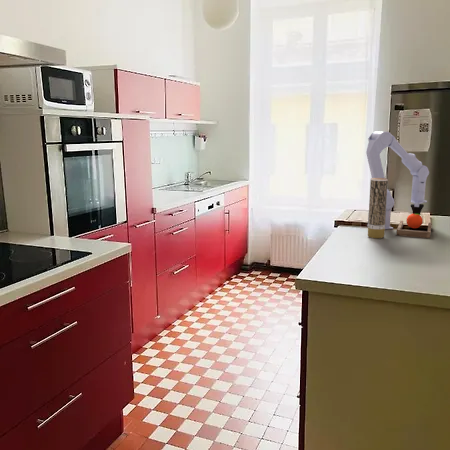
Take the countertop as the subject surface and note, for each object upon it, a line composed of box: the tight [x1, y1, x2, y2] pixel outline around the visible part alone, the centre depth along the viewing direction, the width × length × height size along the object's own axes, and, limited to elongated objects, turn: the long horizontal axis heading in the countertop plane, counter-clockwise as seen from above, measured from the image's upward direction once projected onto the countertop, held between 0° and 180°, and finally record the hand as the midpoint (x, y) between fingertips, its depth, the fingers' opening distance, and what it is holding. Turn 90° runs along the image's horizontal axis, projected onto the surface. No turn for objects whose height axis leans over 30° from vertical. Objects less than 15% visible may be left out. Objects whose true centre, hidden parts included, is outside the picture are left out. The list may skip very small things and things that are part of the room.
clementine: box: [406, 213, 425, 229], centre depth 217 cm, size 8×7×7 cm
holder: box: [395, 220, 432, 239], centre depth 211 cm, size 21×13×2 cm, turn 156°
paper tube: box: [367, 177, 389, 240], centre depth 199 cm, size 7×7×25 cm
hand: (416, 219), depth 221 cm, fingers closed
